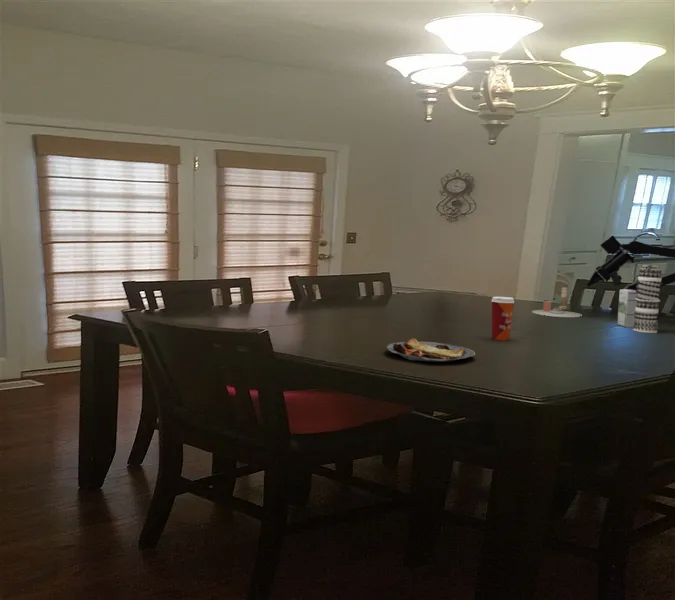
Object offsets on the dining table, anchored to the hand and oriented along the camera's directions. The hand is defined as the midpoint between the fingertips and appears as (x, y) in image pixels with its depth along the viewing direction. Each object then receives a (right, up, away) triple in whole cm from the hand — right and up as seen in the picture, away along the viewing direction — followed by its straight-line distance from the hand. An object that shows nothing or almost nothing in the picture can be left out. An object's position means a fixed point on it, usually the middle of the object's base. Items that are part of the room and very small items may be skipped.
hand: (587, 285), depth 294 cm
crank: (-12, -10, 0) cm, 16 cm away
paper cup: (-57, -20, -74) cm, 96 cm away
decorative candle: (+5, -18, -45) cm, 48 cm away
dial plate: (-15, -12, -4) cm, 20 cm away
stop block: (-17, -12, +3) cm, 21 cm away
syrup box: (+3, -17, -34) cm, 38 cm away
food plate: (-86, -23, -106) cm, 138 cm away
